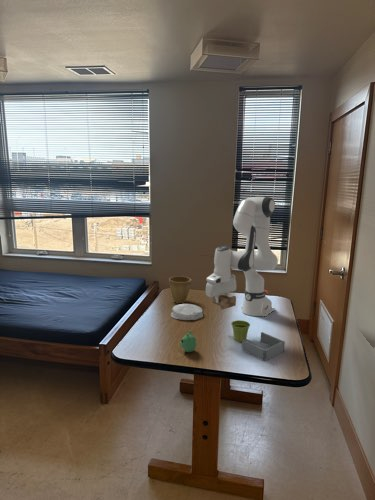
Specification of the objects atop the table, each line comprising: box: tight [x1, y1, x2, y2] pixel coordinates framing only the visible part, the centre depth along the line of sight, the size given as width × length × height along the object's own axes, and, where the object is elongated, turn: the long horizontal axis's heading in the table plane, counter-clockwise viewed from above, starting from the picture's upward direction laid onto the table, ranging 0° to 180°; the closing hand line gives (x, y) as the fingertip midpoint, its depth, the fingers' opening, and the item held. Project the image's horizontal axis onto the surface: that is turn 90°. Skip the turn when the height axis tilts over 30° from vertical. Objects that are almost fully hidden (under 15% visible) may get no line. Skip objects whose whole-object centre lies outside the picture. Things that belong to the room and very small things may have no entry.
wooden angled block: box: [212, 294, 237, 311], centre depth 183 cm, size 10×10×5 cm
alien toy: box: [179, 330, 197, 353], centre depth 162 cm, size 7×8×10 cm
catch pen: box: [241, 331, 286, 362], centre depth 164 cm, size 15×14×5 cm
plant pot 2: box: [231, 320, 251, 343], centre depth 175 cm, size 9×9×9 cm
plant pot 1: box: [168, 276, 192, 304], centre depth 229 cm, size 15×15×16 cm
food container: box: [170, 303, 204, 321], centre depth 208 cm, size 20×20×7 cm
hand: (221, 301), depth 184 cm, fingers closed on wooden angled block, 3 cm apart
